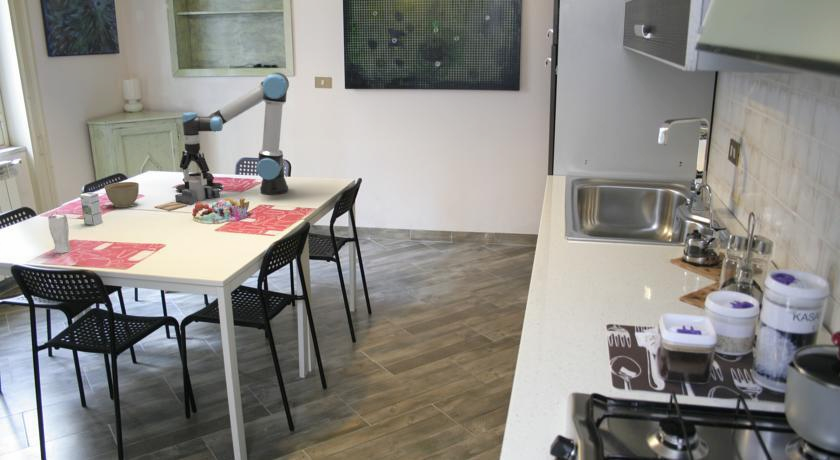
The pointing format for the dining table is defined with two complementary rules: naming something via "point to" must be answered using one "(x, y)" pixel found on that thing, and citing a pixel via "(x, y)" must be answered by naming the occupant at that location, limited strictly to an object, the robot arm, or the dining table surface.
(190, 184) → the can
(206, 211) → the candy landscape model
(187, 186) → the casserole
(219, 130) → the robot arm
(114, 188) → the planter bowl
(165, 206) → the mat
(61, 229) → the beer glass
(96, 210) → the syrup box
